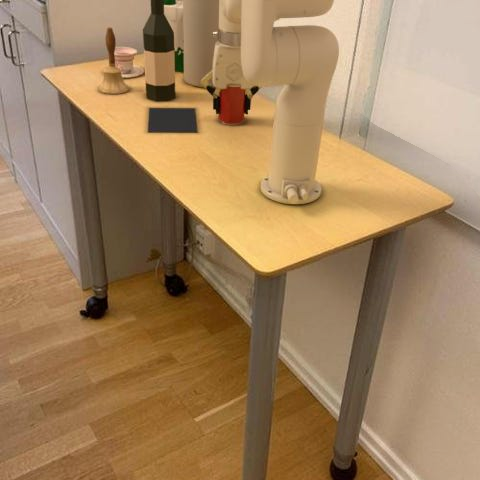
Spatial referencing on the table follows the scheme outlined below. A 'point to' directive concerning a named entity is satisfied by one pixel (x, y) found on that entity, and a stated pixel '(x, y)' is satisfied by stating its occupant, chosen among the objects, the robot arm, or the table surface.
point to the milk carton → (176, 30)
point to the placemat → (172, 120)
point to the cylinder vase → (199, 38)
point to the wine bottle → (159, 55)
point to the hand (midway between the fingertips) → (231, 111)
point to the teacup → (126, 62)
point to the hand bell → (112, 70)
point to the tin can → (232, 105)
